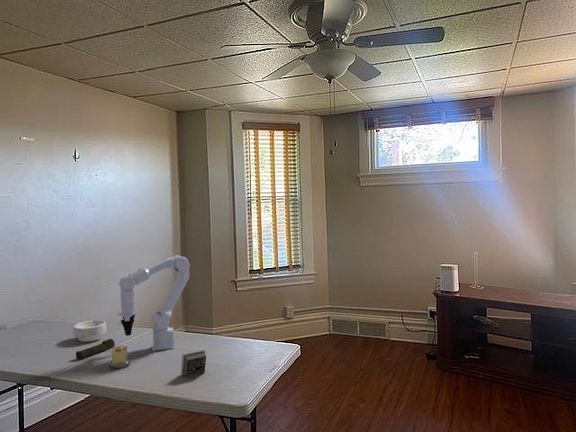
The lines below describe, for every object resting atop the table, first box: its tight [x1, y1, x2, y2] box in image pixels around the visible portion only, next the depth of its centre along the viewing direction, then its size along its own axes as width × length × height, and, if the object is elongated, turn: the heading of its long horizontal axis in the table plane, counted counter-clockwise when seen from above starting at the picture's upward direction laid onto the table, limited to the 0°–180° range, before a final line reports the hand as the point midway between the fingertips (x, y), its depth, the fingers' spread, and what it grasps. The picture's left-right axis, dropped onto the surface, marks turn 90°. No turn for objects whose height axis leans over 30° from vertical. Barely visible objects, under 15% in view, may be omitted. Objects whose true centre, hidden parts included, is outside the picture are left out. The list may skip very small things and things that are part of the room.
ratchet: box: [109, 358, 131, 371], centre depth 187 cm, size 20×8×5 cm, turn 17°
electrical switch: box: [180, 348, 207, 378], centre depth 170 cm, size 9×5×9 cm, turn 122°
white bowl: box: [72, 319, 107, 343], centre depth 219 cm, size 15×15×8 cm
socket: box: [111, 345, 128, 365], centre depth 181 cm, size 6×6×6 cm
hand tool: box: [75, 338, 116, 361], centre depth 197 cm, size 19×4×5 cm, turn 148°
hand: (128, 332), depth 196 cm, fingers open, 7 cm apart
